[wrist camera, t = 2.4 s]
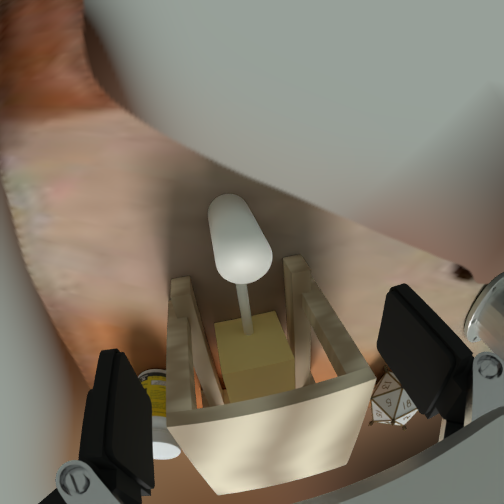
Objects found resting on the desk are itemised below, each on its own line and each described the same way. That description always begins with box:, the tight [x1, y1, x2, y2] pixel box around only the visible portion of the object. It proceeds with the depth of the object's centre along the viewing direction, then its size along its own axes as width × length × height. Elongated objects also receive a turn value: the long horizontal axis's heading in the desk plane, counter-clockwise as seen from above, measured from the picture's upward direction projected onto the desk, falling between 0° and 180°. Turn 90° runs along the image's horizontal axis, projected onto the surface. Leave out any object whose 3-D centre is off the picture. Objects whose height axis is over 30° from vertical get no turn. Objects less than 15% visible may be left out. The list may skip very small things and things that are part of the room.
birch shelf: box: [166, 254, 376, 495], centre depth 23 cm, size 12×16×12 cm
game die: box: [369, 366, 418, 431], centre depth 33 cm, size 9×8×10 cm
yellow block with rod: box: [208, 194, 295, 403], centre depth 23 cm, size 6×17×7 cm, turn 7°
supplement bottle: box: [138, 369, 181, 459], centre depth 25 cm, size 5×5×8 cm
